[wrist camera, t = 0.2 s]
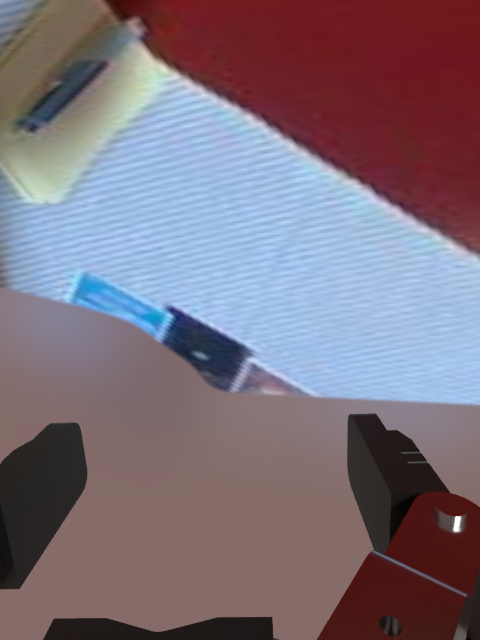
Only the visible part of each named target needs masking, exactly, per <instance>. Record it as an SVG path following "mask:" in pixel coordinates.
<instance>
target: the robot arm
mask: <svg viewBox="0 0 480 640" xmlns="http://www.w3.org/2000/svg"><path fill="white" fill-rule="evenodd" d="M347 450H348V451H347V454H348V455H347V466H348V475H349V481H350V485H351V488H352V490H353V493H354V496H355V499H356V502H357V504H358V507H359V510H360V512H361V515H362V518H363V521H364V523H365V526H366V529H367V531H368V534H369V537H370V540H371V542H372V545H373V548H374V550H372V551H371V552H370V553H369V554H368V556H367V557H366V559H365V561H364V562H363V564H362V566H361V567H360V569H359V571H358V572H357V574H356V576H355V577H354V579H353V580H352V582H351V584H350V585H349V587H348V589H347V590H346V592H345V594H344V595H343V597H342V599H341V600H340V602H339V604H338V605H337V607H336V609H335V610H334V612H333V613H332V615H331V617H330V619H329V620H328V622H327V623H326V625H325V627H324V628H323V630H322V632H321V633H320V635H319V637H318V638H317V640H480V507H479V506H477V505H476V504H474V503H473V502H471V501H470V500H468V499H465V498H463V497H461V496H458V495H455V494H452V493H450V492H449V490H448V489H447V488H446V486H445V485H444V484H443V482H442V481H441V480H440V478H439V477H438V475H437V474H436V473H435V471H434V470H433V468H432V467H431V466H430V464H429V463H427V461H426V459H425V458H424V456H423V455H422V454H421V453H420V451H419V449H418V448H417V447H416V445H415V444H414V443H413V441H412V440H411V439H409V438H408V437H406V436H405V435H403V434H402V433H400V432H399V431H397V430H390V431H389V430H388V431H387V430H386V428H385V427H384V425H383V424H382V422H381V420H380V419H379V418H378V416H377V414H350V415H349V417H348V448H347ZM86 480H87V466H86V459H85V453H84V447H83V440H82V435H81V429H80V426H79V425H78V424H77V423H51V424H49V425H47V426H46V427H45V428H44V429H43V431H41V432H40V433H39V434H38V435H37V436H36V437H35V438H34V439H33V440H32V441H29V442H27V443H26V444H24V445H23V446H20V447H19V448H17V449H15V450H14V451H12V452H11V453H10V454H9V456H7V457H6V458H5V459H4V460H3V461H2V463H1V464H0V589H20V587H21V586H22V584H23V583H24V581H25V580H26V578H27V577H28V575H29V573H30V572H31V570H32V569H33V567H34V566H35V564H36V563H37V561H38V560H39V558H40V557H41V555H42V554H43V552H44V550H45V549H46V547H47V546H48V544H49V543H50V541H51V539H52V538H53V537H54V535H55V534H56V532H57V531H58V529H59V527H60V526H61V524H62V523H63V521H64V520H65V518H66V517H67V515H68V514H69V512H70V511H71V509H72V507H73V506H74V504H75V503H76V501H77V500H78V498H79V497H80V495H81V494H82V492H83V490H84V488H85V484H86ZM43 640H279V639H275V638H273V624H272V617H221V618H219V617H218V618H214V619H210V620H206V621H202V622H198V623H195V624H190V625H187V626H183V627H179V628H175V629H172V630H167V631H163V632H153V631H149V630H146V629H142V628H139V627H135V626H132V625H128V624H125V623H121V622H118V621H114V620H111V619H107V618H76V619H54V620H53V621H52V623H51V625H50V627H49V629H48V631H47V634H46V635H45V637H44V639H43Z"/></svg>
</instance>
